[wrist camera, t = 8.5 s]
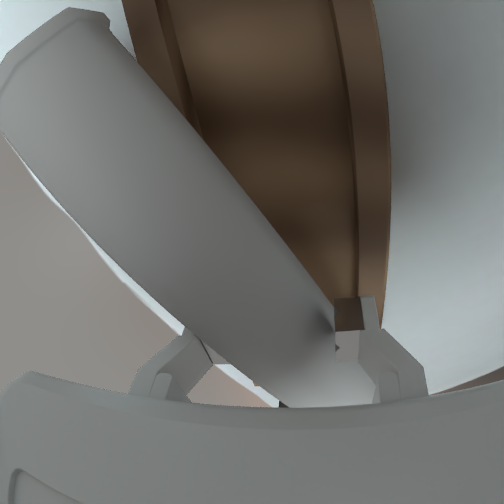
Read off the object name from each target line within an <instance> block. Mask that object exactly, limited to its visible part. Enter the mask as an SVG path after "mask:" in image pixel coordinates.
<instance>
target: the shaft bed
mask: <svg viewBox="0 0 504 504" xmlns="http://www.w3.org/2000/svg"><path fill="white" fill-rule="evenodd" d="M122 3H123V8H124V12H125V16H126V20H127V24H128V28H129V31H130V35H131V39H132V43H133V47H134V50H135V54H136V58H137V61H138V63H139V65H140V66H141V67H142V68H143V69H144V70H145V72H146V73H147V74H148V75H149V76H150V77H151V78H152V80H153V81H154V82H155V83H156V84H157V85H158V87H159V88H160V89H161V90H162V91H163V93H164V94H165V95H166V96H167V97H168V98H169V100H170V101H171V102H172V103H173V104H174V106H175V107H176V108H177V109H178V110H179V111H180V113H181V114H182V115H183V116H184V117H185V119H186V120H187V121H188V122H189V123H190V125H191V126H192V127H193V128H194V129H195V131H196V132H197V133H198V134H199V136H200V137H201V138H202V139H203V140H204V142H205V143H206V144H207V145H208V146H209V148H210V149H211V150H212V151H213V153H214V154H215V155H216V156H217V157H218V159H219V160H220V161H221V162H222V164H223V165H224V166H225V167H226V169H227V170H228V171H229V172H230V174H231V175H232V176H233V177H234V179H235V180H236V181H237V182H238V184H239V185H240V186H241V187H242V189H243V190H244V191H245V192H246V194H247V195H248V196H249V197H250V199H251V200H252V201H253V202H254V204H255V205H256V206H257V207H258V209H259V210H260V211H261V213H262V214H263V215H264V216H265V218H266V219H267V220H268V221H269V223H270V224H271V225H272V227H273V228H274V229H275V230H276V232H277V233H278V234H279V236H280V237H281V238H282V239H283V241H284V242H285V243H286V245H287V246H288V247H289V249H290V250H291V251H292V252H293V254H294V255H295V256H296V258H297V259H298V260H299V262H300V263H301V264H302V266H303V267H304V268H305V269H306V271H307V272H308V273H309V275H310V276H311V277H312V279H313V280H314V281H315V283H316V284H317V285H318V287H319V288H320V289H321V291H322V292H323V293H324V295H325V296H326V297H327V299H328V300H329V301H330V303H331V304H332V305H333V307H334V301H333V299H335V298H347V297H358V296H359V297H360V296H369V295H373V296H374V298H375V303H376V309H377V314H378V320H379V326H380V329H381V324H382V317H383V309H384V300H385V291H386V281H387V269H388V256H389V240H390V216H391V154H390V131H389V115H388V103H387V92H386V82H385V73H384V65H383V58H382V51H381V44H380V38H379V32H378V26H377V21H376V15H375V10H374V5H373V1H372V0H122ZM253 383H254V385H255V386H259V385H258V384H256V383H255V382H254V381H253ZM279 408H289V407H288V406H286V405H285V404H284V403H282V402H281V401H279Z"/></svg>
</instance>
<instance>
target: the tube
mask: <svg viewBox="0 0 504 504" xmlns="http://www.w3.org/2000/svg"><path fill="white" fill-rule="evenodd" d="M109 26H110V20H109V19H108V18H107V16H106V15H105V14H104V13H101V12H96V11H90V10H84V9H78V8H71V7H68V8H66V9H65V10H63V11H62V12H60V13H59V14H57V15H56V16H54V17H53V18H51V19H50V20H49V21H47V22H46V23H44V24H43V25H42V26H40V27H39V28H38V29H36V30H35V31H34V32H32V33H31V34H30V35H29V36H27V37H26V38H25V39H23V40H22V41H21V42H20V43H19V44H17V45H16V46H15V47H14V48H13V49H11V50H10V51H9V52H8V53H7V54H6V56H5V57H4V59H3V61H2V62H1V64H0V132H1V133H2V134H3V135H4V137H5V138H6V139H7V140H8V142H9V143H10V144H11V146H12V147H13V148H14V150H15V151H16V152H17V153H18V155H19V156H20V157H21V158H22V160H23V161H24V162H25V163H26V165H27V166H28V167H29V168H30V170H31V171H32V172H33V173H34V174H35V176H36V177H37V178H38V179H39V180H40V182H41V183H42V184H43V185H44V186H45V187H46V189H47V190H48V191H49V192H50V193H51V194H52V196H53V197H54V198H55V199H56V200H57V201H58V202H59V203H60V205H61V206H62V207H63V208H64V209H65V210H66V211H67V212H68V213H69V215H70V216H71V217H72V218H73V219H74V220H75V221H76V222H77V223H78V224H79V225H80V226H81V228H82V229H83V230H84V231H85V232H86V233H87V234H88V235H89V236H90V237H91V238H92V239H93V240H94V241H95V242H96V243H97V244H98V245H99V246H100V247H101V248H102V249H103V250H104V251H105V252H106V253H107V254H108V255H109V256H110V257H111V258H112V259H113V260H114V261H115V262H116V263H117V264H118V265H119V266H120V267H121V268H122V269H123V270H124V271H125V272H126V273H127V274H128V275H129V276H130V277H131V278H132V279H133V280H134V281H135V282H136V283H137V284H138V285H140V286H141V287H142V288H143V289H144V290H145V291H146V292H147V293H148V294H149V295H150V296H151V297H153V298H154V299H155V300H156V301H157V302H158V303H159V304H160V305H161V306H162V307H164V308H165V309H166V310H167V311H168V312H169V313H170V314H171V315H173V316H174V317H175V318H176V319H177V320H178V321H179V322H181V323H182V324H183V325H184V326H185V327H186V328H188V329H189V330H190V331H191V332H192V333H193V334H195V335H196V336H197V337H198V338H199V339H201V340H202V341H203V342H204V343H205V344H207V345H208V346H209V347H210V348H212V349H213V350H214V351H215V352H216V353H218V354H219V355H220V356H221V357H223V358H224V359H225V360H226V361H228V362H229V363H230V364H231V365H233V366H234V367H235V368H237V369H238V370H239V371H240V372H242V373H243V374H244V375H246V376H247V377H248V378H250V379H251V380H252V381H254V382H255V383H256V384H258V385H259V386H260V387H262V388H263V389H264V390H266V391H267V392H268V393H270V394H271V395H273V396H274V397H275V398H277V399H278V400H279V401H281V402H282V403H284V404H285V405H286V406H288V407H289V408H305V407H333V406H350V405H363V404H372V400H373V396H374V392H375V387H376V385H375V384H374V383H373V381H372V380H371V379H370V377H369V376H368V375H367V373H366V372H365V371H364V369H363V368H362V367H361V365H360V364H359V363H358V361H349V362H336V355H335V329H334V307H333V305H332V304H331V303H330V301H329V300H328V299H327V297H326V296H325V295H324V293H323V292H322V291H321V289H320V288H319V287H318V285H317V284H316V283H315V281H314V280H313V279H312V277H311V276H310V275H309V273H308V272H307V271H306V269H305V268H304V267H303V266H302V264H301V263H300V262H299V260H298V259H297V258H296V256H295V255H294V254H293V252H292V251H291V250H290V249H289V247H288V246H287V245H286V243H285V242H284V241H283V239H282V238H281V237H280V236H279V234H278V233H277V232H276V230H275V229H274V228H273V227H272V225H271V224H270V223H269V221H268V220H267V219H266V218H265V216H264V215H263V214H262V213H261V211H260V210H259V209H258V207H257V206H256V205H255V204H254V202H253V201H252V200H251V199H250V197H249V196H248V195H247V194H246V192H245V191H244V190H243V189H242V187H241V186H240V185H239V184H238V182H237V181H236V180H235V179H234V177H233V176H232V175H231V174H230V172H229V171H228V170H227V169H226V167H225V166H224V165H223V164H222V162H221V161H220V160H219V159H218V157H217V156H216V155H215V154H214V153H213V151H212V150H211V149H210V148H209V146H208V145H207V144H206V143H205V142H204V140H203V139H202V138H201V137H200V136H199V134H198V133H197V132H196V131H195V129H194V128H193V127H192V126H191V125H190V123H189V122H188V121H187V120H186V119H185V117H184V116H183V115H182V114H181V113H180V111H179V110H178V109H177V108H176V107H175V106H174V104H173V103H172V102H171V101H170V100H169V98H168V97H167V96H166V95H165V94H164V93H163V91H162V90H161V89H160V88H159V87H158V85H157V84H156V83H155V82H154V81H153V80H152V78H151V77H150V76H149V75H148V74H147V73H146V72H145V70H144V69H143V68H142V67H141V66H140V65H139V63H138V62H137V61H136V60H135V59H134V58H133V57H132V55H131V54H130V53H129V52H128V51H127V50H126V49H125V47H124V46H123V45H122V44H121V43H120V42H119V41H118V40H117V38H116V37H115V36H114V35H113V34H112V32H111V31H110V30H109Z"/></svg>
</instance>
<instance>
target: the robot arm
mask: <svg viewBox="0 0 504 504" xmlns="http://www.w3.org/2000/svg"><path fill="white" fill-rule="evenodd" d="M333 301H334V329H335V355H336V362H349V361H358V363H359V364H360V365H361V367H362V368H363V369H364V371H365V372H366V373H367V375H368V376H369V377H370V379H371V380H372V381H373V383H374V384H375V385H376V387H375V392H374V396H373V400H372V404H363V405H350V406H333V407H305V408H268V407H265V408H264V407H240V406H222V405H210V404H199V403H192V402H191V401H190V399H189V398H188V397H187V396H186V395H187V394H188V393H189V392H190V390H191V389H192V388H193V387H194V386H195V385H196V384H197V383H198V381H199V380H200V379H201V378H202V377H203V376H204V374H206V372H207V371H208V370H209V369H210V368H211V367H212V366H213V364H230V363H229V362H228V361H226V360H225V359H224V358H223V357H221V356H220V355H219V354H218V353H216V352H215V351H214V350H213V349H212V348H210V347H209V346H208V345H207V344H205V343H204V342H203V341H202V340H201V339H199V338H198V337H197V336H196V335H195V334H193V333H192V332H191V331H190V330H189V329H188V328H186V327H185V328H184V331H183V333H182V336H177V337H176V338H175V339H174V340H173V341H171V342H170V343H169V344H168V345H167V346H166V347H164V348H163V349H162V350H161V351H160V352H158V353H157V354H156V355H155V356H154V357H152V358H151V359H150V360H149V361H148V362H146V363H145V364H144V365H143V366H142V367H140V368H139V369H138V371H137V373H136V376H135V378H134V381H133V383H132V385H131V388H130V391H129V393H128V394H126V393H120V392H115V391H111V390H105V389H101V388H96V387H92V386H87V385H83V384H79V383H74V382H70V381H67V380H63V379H59V378H55V377H52V376H49V375H45V374H41V373H39V372H35V371H26V372H25V373H23V374H21V375H20V376H18V377H17V378H16V379H14V380H13V381H11V382H10V383H9V384H7V385H6V386H5V387H4V388H3V389H2V391H1V392H0V504H504V380H501V381H497V382H493V383H490V384H486V385H482V386H477V387H473V388H469V389H464V390H459V391H455V392H449V393H445V394H439V395H433V396H429V395H428V389H427V384H426V379H425V373H424V368H423V366H422V365H421V364H420V363H419V362H418V361H417V360H416V359H415V358H414V357H413V356H412V355H411V354H410V353H409V352H408V351H407V350H406V349H405V348H403V347H402V346H401V345H400V344H399V343H398V342H397V341H396V340H395V339H394V338H393V337H392V336H391V335H390V334H389V333H388V332H387V331H386V330H385V329H380V326H379V320H378V314H377V309H376V303H375V298H374V296H373V295H369V296H360V297H359V296H358V297H347V298H335V299H333Z"/></svg>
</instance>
